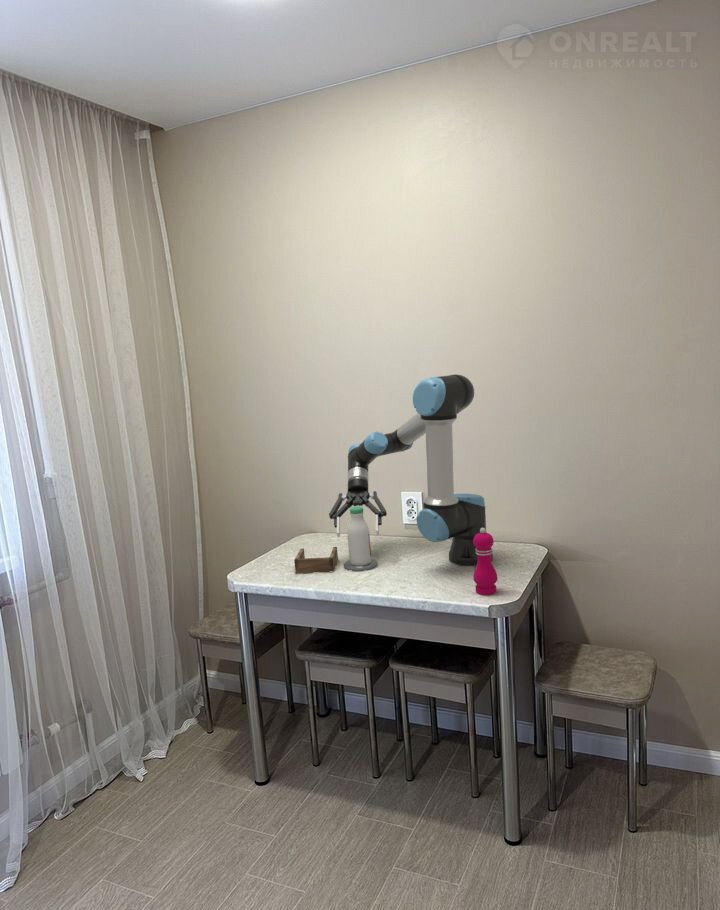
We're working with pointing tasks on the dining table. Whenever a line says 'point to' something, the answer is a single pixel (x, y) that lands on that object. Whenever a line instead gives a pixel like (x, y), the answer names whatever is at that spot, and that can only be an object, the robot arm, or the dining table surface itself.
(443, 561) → the dining table surface
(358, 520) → the milk bottle
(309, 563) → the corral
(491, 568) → the pepper mill
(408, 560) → the dining table surface
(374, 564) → the coaster
